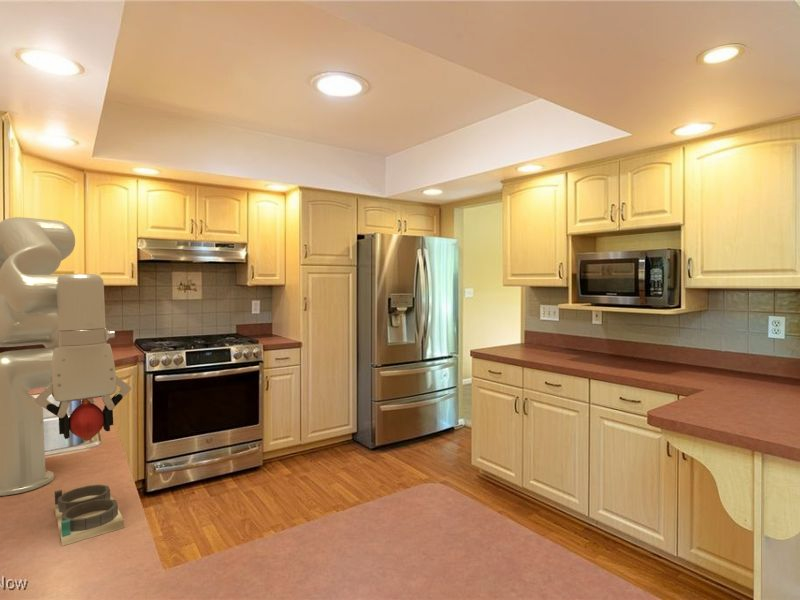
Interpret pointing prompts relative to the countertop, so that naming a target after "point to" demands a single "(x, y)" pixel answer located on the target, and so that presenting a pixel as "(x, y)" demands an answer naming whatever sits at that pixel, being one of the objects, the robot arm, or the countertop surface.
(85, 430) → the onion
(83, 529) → the cream flat ringed piece
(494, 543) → the countertop surface
